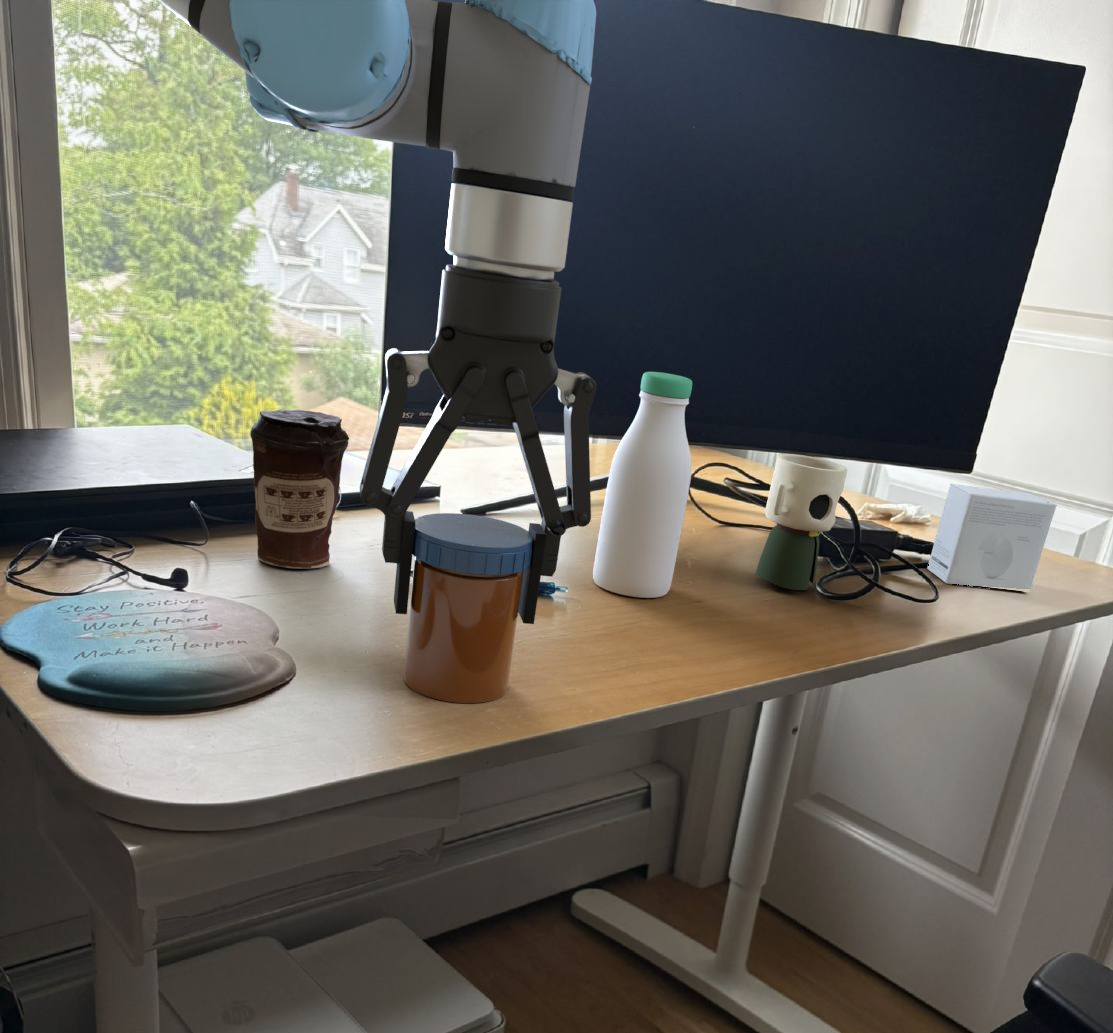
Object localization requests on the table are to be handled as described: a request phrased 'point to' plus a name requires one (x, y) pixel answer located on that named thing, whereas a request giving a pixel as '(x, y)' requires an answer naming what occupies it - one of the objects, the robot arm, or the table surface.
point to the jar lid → (472, 544)
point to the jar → (460, 633)
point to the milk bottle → (647, 493)
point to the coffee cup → (296, 485)
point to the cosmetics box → (990, 537)
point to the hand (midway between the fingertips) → (463, 612)
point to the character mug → (799, 518)
